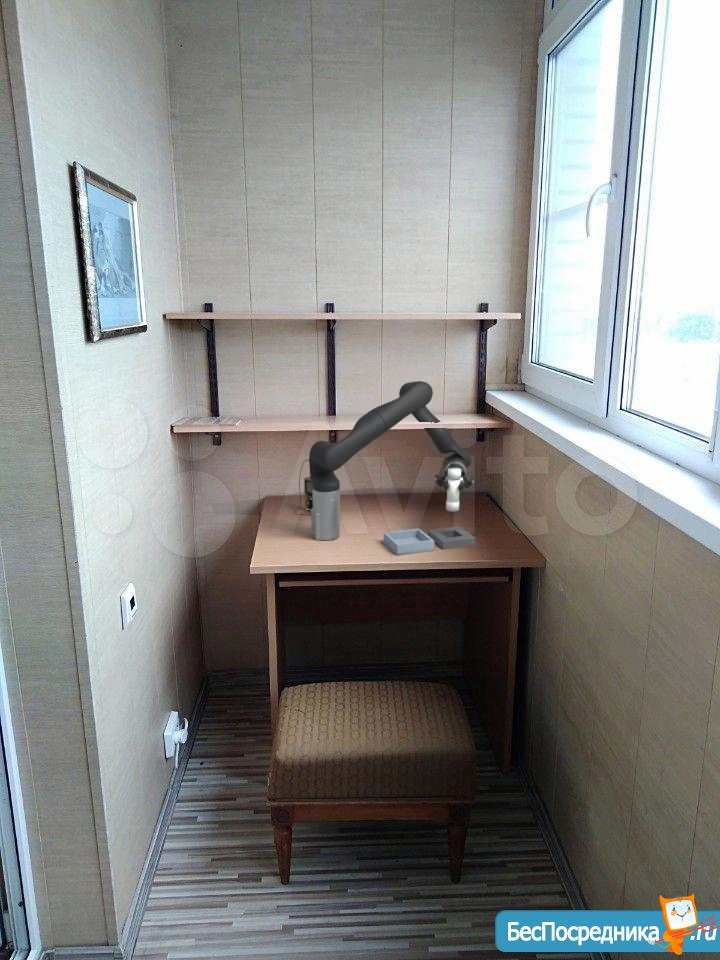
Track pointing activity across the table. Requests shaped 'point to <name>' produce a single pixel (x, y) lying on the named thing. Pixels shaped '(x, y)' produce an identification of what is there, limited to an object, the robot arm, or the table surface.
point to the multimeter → (307, 491)
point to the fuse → (453, 489)
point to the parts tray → (408, 541)
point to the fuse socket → (457, 537)
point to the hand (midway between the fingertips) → (453, 487)
